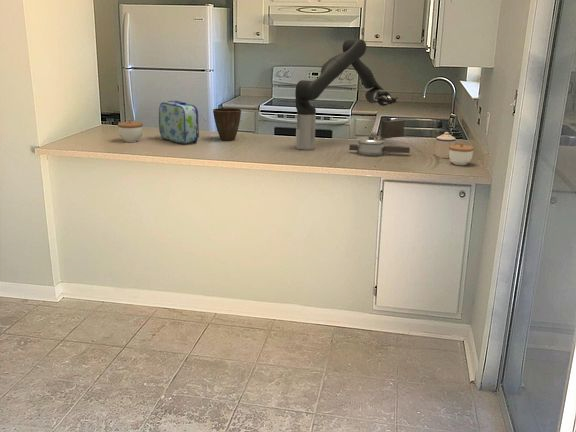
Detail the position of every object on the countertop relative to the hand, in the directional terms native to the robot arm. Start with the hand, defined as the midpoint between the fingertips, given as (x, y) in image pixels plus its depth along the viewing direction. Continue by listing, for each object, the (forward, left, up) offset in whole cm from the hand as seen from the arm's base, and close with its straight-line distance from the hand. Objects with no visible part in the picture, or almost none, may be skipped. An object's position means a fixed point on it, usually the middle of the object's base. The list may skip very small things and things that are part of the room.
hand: (390, 101), depth 297 cm
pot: (-9, -17, -23) cm, 30 cm away
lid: (-8, -14, -17) cm, 23 cm away
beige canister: (+22, -23, -23) cm, 39 cm away
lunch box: (-107, +17, -23) cm, 111 cm away
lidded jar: (+23, -40, -23) cm, 52 cm away
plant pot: (-82, +21, -23) cm, 88 cm away
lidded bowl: (-132, +18, -23) cm, 135 cm away
